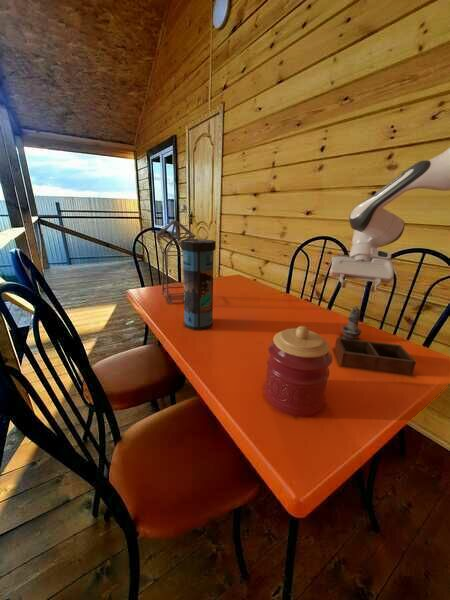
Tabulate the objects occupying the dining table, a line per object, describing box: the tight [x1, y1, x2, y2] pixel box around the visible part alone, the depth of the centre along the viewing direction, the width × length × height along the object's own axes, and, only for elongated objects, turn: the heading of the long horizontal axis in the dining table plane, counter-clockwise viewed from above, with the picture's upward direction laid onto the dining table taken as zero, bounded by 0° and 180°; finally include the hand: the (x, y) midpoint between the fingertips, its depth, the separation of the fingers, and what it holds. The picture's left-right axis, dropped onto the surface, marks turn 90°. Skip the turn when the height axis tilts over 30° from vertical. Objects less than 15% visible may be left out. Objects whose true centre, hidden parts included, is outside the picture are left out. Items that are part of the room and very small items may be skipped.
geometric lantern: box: [155, 220, 197, 305], centre depth 110 cm, size 16×16×35 cm
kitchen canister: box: [264, 325, 333, 418], centre depth 55 cm, size 13×13×18 cm
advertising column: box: [180, 238, 217, 331], centre depth 87 cm, size 11×11×30 cm
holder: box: [333, 337, 417, 377], centre depth 71 cm, size 17×9×5 cm, turn 78°
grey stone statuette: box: [341, 305, 362, 340], centre depth 83 cm, size 6×6×12 cm
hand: (357, 288), depth 89 cm, fingers open, 8 cm apart
